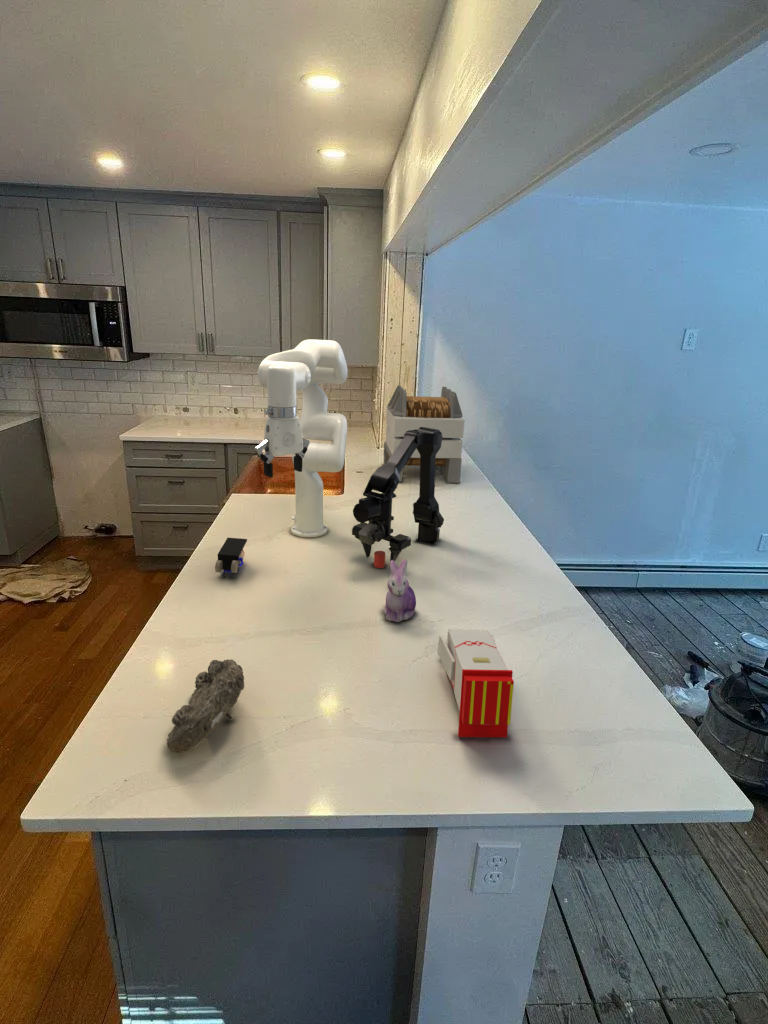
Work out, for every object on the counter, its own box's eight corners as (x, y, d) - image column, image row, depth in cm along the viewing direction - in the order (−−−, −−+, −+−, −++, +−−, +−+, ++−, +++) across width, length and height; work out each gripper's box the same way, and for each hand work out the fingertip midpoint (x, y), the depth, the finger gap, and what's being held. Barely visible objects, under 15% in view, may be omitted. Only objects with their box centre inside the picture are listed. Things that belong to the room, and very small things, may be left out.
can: (386, 567, 174) (387, 554, 172) (375, 568, 173) (376, 555, 171) (382, 562, 177) (383, 550, 175) (372, 563, 176) (372, 551, 174)
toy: (488, 613, 130) (523, 677, 101) (484, 667, 133) (517, 744, 104) (435, 612, 130) (455, 676, 101) (432, 666, 133) (451, 743, 103)
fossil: (192, 660, 117) (244, 628, 112) (224, 691, 120) (276, 661, 115) (142, 746, 98) (202, 712, 93) (182, 779, 101) (242, 748, 96)
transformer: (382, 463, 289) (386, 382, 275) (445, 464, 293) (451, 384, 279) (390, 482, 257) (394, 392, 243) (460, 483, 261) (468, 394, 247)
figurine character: (238, 584, 162) (249, 557, 175) (236, 562, 158) (247, 536, 172) (215, 584, 161) (227, 556, 175) (212, 561, 158) (225, 535, 171)
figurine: (392, 627, 141) (395, 572, 136) (374, 608, 149) (376, 556, 144) (425, 619, 145) (429, 566, 140) (405, 601, 154) (408, 550, 149)
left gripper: (262, 417, 144) (264, 482, 150) (316, 411, 155) (316, 471, 161) (246, 413, 149) (249, 475, 155) (300, 407, 161) (301, 466, 166)
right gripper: (340, 513, 168) (339, 561, 173) (390, 529, 158) (388, 579, 163) (364, 504, 176) (362, 550, 182) (413, 518, 166) (410, 567, 171)
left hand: (283, 473), depth 158 cm, fingers open, 9 cm apart
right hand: (379, 561), depth 174 cm, fingers open, 9 cm apart
